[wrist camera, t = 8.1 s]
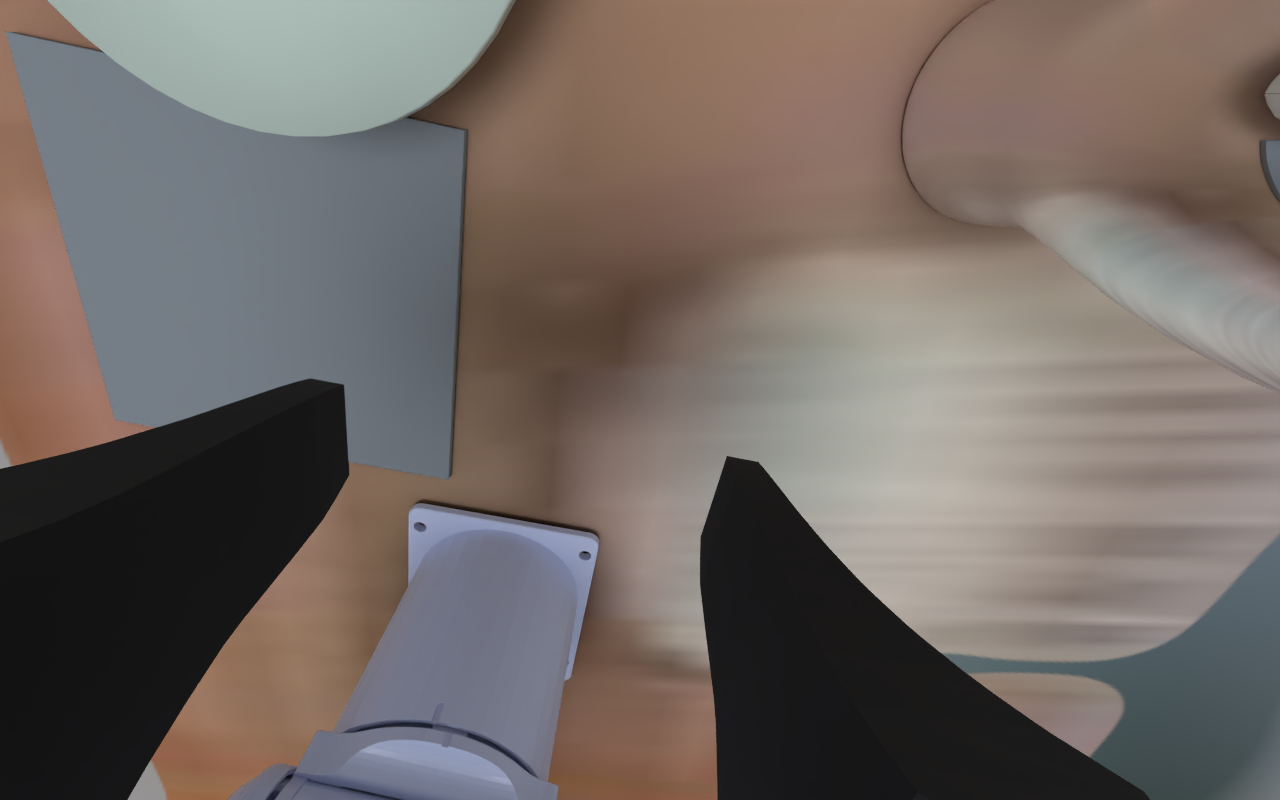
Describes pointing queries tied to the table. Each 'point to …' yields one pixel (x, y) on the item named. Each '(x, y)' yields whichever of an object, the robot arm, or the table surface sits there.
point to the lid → (295, 55)
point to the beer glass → (1122, 154)
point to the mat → (255, 255)
